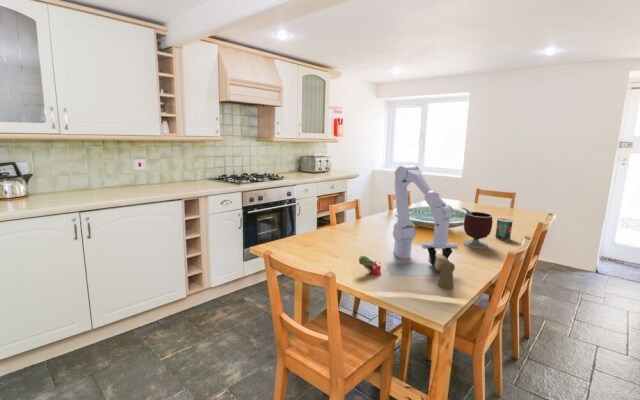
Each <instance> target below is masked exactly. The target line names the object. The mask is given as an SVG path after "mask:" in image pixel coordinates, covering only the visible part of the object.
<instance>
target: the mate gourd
mask: <svg viewBox="0 0 640 400" xmlns="http://www.w3.org/2000/svg"><path fill="white" fill-rule="evenodd" d="M461 210H464V211H465V216H464V218H463V228H464V229H463V230H464V232H465V234H466V235H467V236H468V237H470V238H472V240H469V239H468V240H464V241H463V245H464V246H465V247H468V248H472V249H478V248H479V249H482V250H483V249H488V247H489V246H488V244H487V243H486V242H483V241H480V239H485V238H487V237H488V236H489V235H491V232H492V228H493V222H494V221H493V215H492V214H491V213H487V212H481V211H470V210H469V209H467V208H465V207H462V208H461ZM479 249H478V250H479Z"/></svg>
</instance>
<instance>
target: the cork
mask: <svg viewBox="0 0 640 400" xmlns="http://www.w3.org/2000/svg"><path fill="white" fill-rule="evenodd" d="M440 269H441V274H440V277H439V278H438V282H437V286H438V287H439V288H440V289H444V290H453V289H454V272H455V269H456V266H455V264H454V262H451V261H449V262H448V261H444V262H442V263H441V265H440Z"/></svg>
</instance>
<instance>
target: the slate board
mask: <svg viewBox="0 0 640 400" xmlns="http://www.w3.org/2000/svg"><path fill="white" fill-rule="evenodd" d="M383 264H384V265H385V267H386V269H387V271H388V273H389V275H390V276H391V277H439V278H440V274H441V272H438V271H437V270H436V269H435V268H434V267H433V266H432V264H431V263H414V262H413V263H412V262H411V263H409V262H401V263H400V262H384V263H383Z"/></svg>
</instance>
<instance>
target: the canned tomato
mask: <svg viewBox="0 0 640 400" xmlns="http://www.w3.org/2000/svg"><path fill="white" fill-rule="evenodd" d="M512 228H513V220H512V219H508V218H502V217H500V218H497V219H496V227H495V236H494V238H495V237H496V238H495V239H497V238H498V239H497V240H500V239H501V241H510V240H511V237H512V236H511V235H512Z"/></svg>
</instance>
